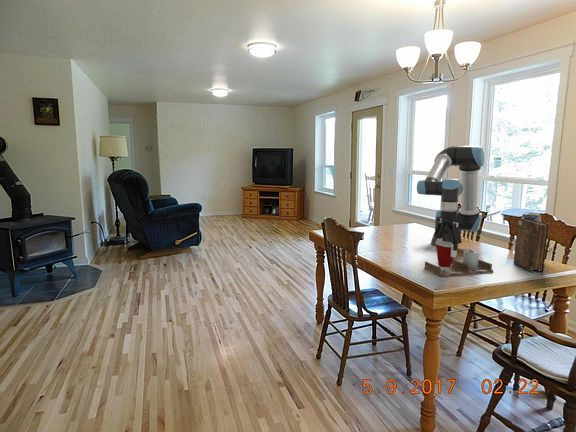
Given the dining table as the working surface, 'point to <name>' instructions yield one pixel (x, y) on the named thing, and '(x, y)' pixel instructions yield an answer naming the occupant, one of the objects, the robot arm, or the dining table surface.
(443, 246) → the plastic cup
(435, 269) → the comb rack
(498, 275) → the dining table surface
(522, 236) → the book
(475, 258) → the stoneware jar
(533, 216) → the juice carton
